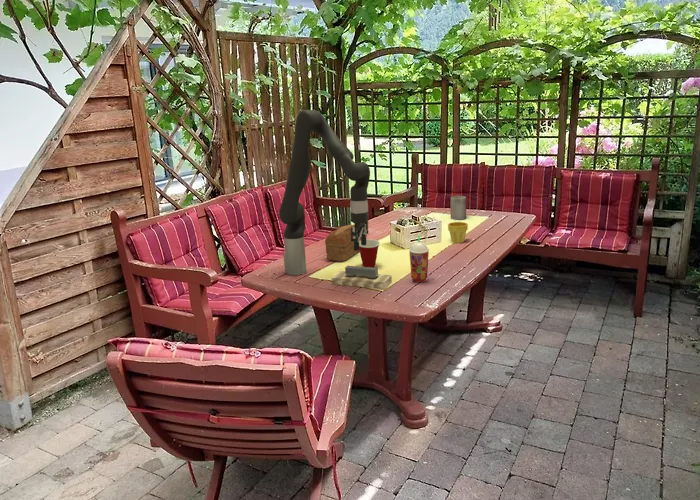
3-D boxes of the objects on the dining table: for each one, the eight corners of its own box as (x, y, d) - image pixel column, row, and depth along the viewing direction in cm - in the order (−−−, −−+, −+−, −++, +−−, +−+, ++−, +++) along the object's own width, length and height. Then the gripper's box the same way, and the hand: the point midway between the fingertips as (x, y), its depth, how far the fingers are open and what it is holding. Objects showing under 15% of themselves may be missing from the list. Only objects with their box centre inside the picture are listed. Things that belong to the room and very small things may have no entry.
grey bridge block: (345, 282, 249) (345, 267, 247) (348, 280, 251) (347, 265, 249) (376, 285, 244) (375, 270, 242) (378, 283, 246) (377, 267, 244)
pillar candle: (457, 215, 366) (457, 192, 362) (469, 218, 358) (469, 194, 354) (447, 218, 360) (447, 195, 356) (459, 220, 353) (459, 197, 348)
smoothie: (427, 276, 252) (427, 232, 246) (430, 282, 244) (430, 237, 238) (408, 277, 252) (407, 233, 246) (411, 283, 244) (410, 238, 238)
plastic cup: (361, 271, 263) (360, 246, 260) (355, 264, 273) (354, 240, 270) (383, 268, 266) (383, 243, 263) (376, 262, 276) (375, 238, 273)
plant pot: (444, 241, 307) (444, 224, 304) (456, 238, 313) (456, 220, 311) (459, 245, 299) (459, 227, 297) (471, 241, 306) (471, 223, 303)
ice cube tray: (332, 284, 247) (331, 277, 247) (341, 277, 256) (340, 270, 256) (384, 289, 239) (384, 282, 238) (391, 281, 247) (391, 275, 247)
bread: (322, 261, 281) (321, 233, 277) (345, 247, 306) (344, 221, 302) (344, 263, 276) (343, 235, 272) (366, 248, 301) (365, 222, 297)
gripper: (357, 206, 246) (358, 242, 251) (344, 213, 234) (345, 251, 238) (373, 207, 244) (374, 244, 248) (361, 214, 231) (362, 252, 235)
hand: (360, 247), depth 243 cm, fingers open, 8 cm apart
